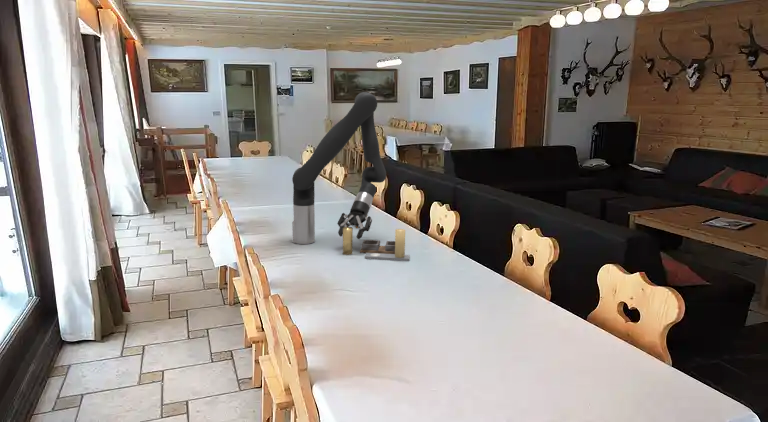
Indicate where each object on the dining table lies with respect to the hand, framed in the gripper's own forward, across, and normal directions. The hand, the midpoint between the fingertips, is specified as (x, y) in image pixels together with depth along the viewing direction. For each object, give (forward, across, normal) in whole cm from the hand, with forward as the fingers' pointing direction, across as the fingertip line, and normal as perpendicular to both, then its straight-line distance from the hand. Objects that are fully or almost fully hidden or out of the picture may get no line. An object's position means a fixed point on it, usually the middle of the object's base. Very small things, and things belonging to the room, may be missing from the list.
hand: (348, 236), depth 210 cm
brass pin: (+6, 0, +4) cm, 7 cm away
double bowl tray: (-2, +11, +12) cm, 16 cm away
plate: (+4, +17, +6) cm, 19 cm away
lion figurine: (-24, -18, +34) cm, 45 cm away
